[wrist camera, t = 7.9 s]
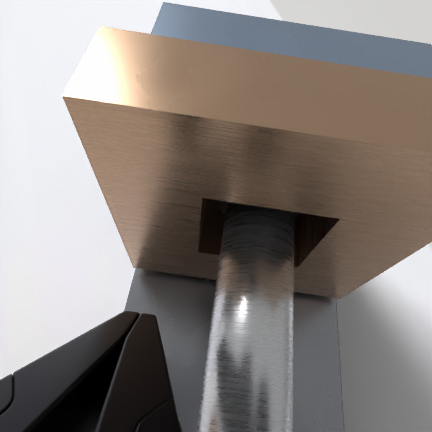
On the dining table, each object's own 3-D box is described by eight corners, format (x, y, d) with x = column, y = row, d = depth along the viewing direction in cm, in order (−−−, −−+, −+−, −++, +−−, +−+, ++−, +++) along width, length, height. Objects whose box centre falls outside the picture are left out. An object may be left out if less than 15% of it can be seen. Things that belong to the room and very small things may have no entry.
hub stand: (340, 560, 12) (997, 1268, 2) (73, 522, 12) (-422, 1082, 2) (324, 222, 19) (463, 47, 9) (158, 197, 19) (130, -5, 9)
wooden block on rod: (340, 298, 15) (546, 170, 6) (133, 267, 15) (62, 95, 6) (337, 250, 16) (506, 89, 8) (145, 222, 16) (100, 26, 8)
